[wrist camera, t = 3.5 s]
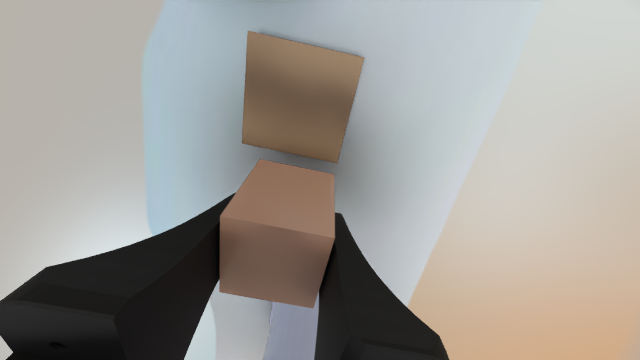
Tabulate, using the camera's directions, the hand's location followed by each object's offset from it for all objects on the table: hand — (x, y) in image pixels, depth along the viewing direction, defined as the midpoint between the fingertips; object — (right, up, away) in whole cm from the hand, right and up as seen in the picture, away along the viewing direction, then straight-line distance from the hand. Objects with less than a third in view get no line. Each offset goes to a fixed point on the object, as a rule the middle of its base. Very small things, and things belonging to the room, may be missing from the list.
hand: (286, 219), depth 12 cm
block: (0, +1, +2) cm, 2 cm away
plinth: (0, +8, +6) cm, 10 cm away
